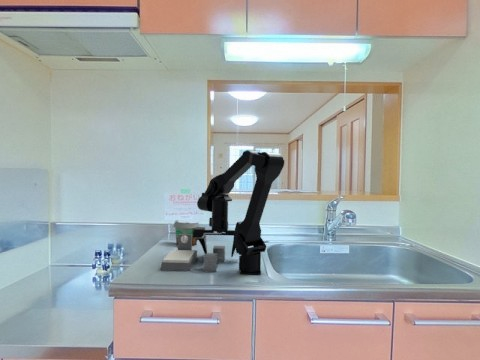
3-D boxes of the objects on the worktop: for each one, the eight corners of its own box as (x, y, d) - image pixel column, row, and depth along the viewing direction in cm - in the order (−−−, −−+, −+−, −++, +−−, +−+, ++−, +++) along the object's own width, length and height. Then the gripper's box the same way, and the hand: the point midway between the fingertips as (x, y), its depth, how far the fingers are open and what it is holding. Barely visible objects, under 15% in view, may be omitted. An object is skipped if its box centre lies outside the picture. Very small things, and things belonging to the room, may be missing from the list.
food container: (167, 244, 140) (167, 221, 139) (176, 242, 145) (176, 220, 145) (190, 248, 134) (191, 224, 134) (199, 245, 139) (199, 222, 139)
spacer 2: (224, 259, 118) (225, 245, 118) (224, 262, 114) (224, 248, 114) (213, 259, 118) (214, 245, 118) (212, 262, 114) (213, 248, 114)
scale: (197, 256, 121) (197, 234, 121) (189, 270, 104) (190, 244, 104) (172, 256, 121) (173, 233, 121) (161, 270, 104) (161, 243, 104)
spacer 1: (217, 268, 107) (217, 253, 107) (216, 272, 103) (216, 256, 103) (204, 268, 107) (205, 253, 107) (203, 271, 103) (203, 256, 103)
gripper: (245, 211, 124) (245, 251, 124) (196, 210, 124) (196, 250, 124) (246, 214, 113) (245, 259, 113) (192, 213, 113) (191, 258, 113)
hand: (219, 256), depth 116 cm, fingers open, 9 cm apart
